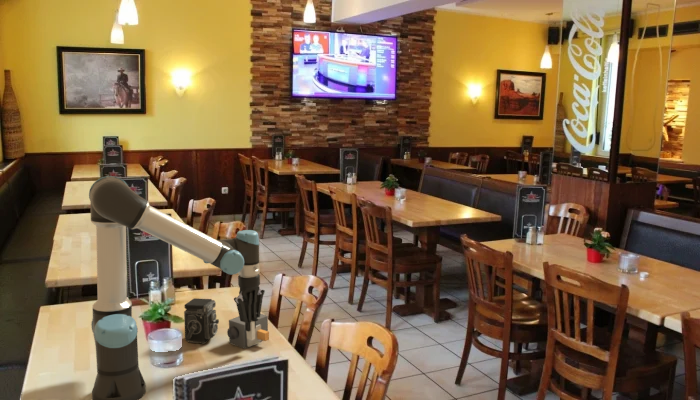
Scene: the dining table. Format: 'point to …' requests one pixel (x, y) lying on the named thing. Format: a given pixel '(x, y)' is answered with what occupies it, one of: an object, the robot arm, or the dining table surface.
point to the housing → (243, 330)
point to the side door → (258, 336)
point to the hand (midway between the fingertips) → (250, 338)
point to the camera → (200, 320)
